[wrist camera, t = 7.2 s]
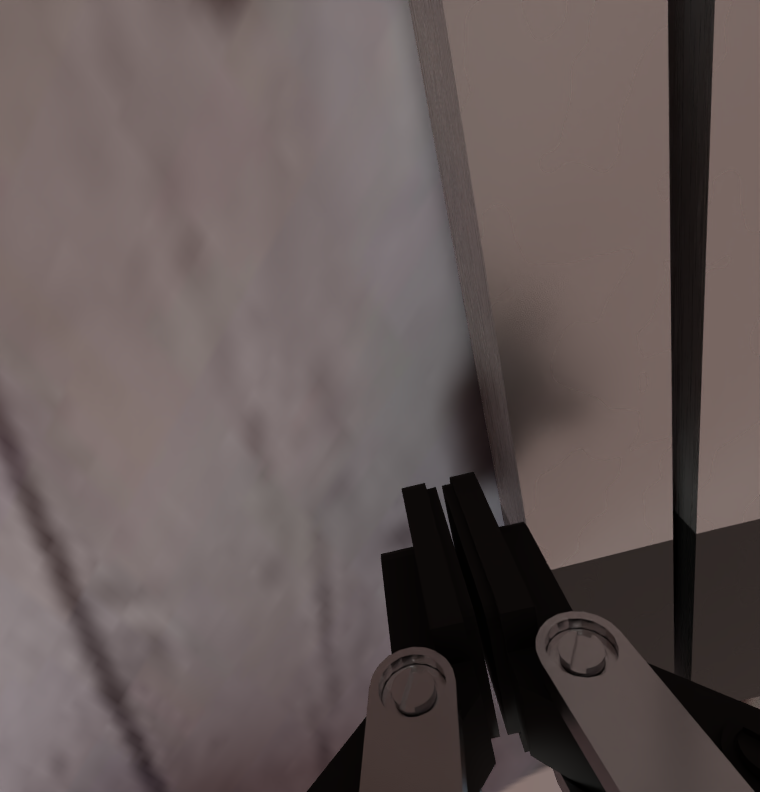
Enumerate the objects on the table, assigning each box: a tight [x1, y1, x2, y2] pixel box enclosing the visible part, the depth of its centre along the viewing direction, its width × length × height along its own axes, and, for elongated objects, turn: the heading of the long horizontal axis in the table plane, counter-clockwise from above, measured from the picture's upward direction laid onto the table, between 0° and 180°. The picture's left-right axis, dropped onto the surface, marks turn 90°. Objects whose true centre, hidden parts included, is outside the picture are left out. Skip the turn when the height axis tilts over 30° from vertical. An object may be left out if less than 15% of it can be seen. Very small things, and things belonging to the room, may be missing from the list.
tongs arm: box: [408, 0, 674, 673], centre depth 9 cm, size 26×5×2 cm, turn 14°
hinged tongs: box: [668, 0, 760, 701], centre depth 9 cm, size 30×7×3 cm, turn 13°
